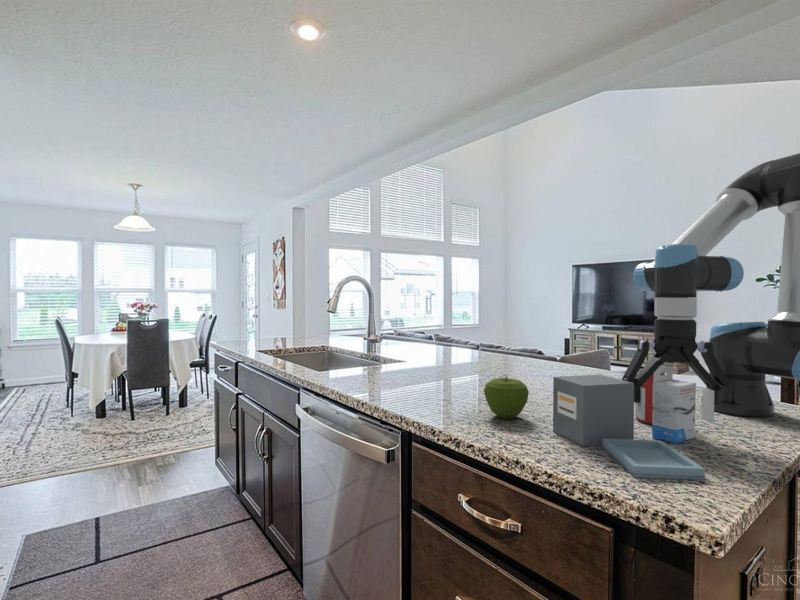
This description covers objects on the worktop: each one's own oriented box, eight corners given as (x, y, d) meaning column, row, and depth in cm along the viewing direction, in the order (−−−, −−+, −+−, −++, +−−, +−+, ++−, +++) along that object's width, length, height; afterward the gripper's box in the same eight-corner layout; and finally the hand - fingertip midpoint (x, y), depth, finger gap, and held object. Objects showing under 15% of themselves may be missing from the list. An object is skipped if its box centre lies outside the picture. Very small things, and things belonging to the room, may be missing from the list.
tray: (660, 449, 84) (660, 440, 84) (704, 480, 70) (704, 468, 70) (601, 447, 85) (601, 438, 85) (633, 477, 71) (633, 466, 71)
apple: (480, 411, 112) (481, 372, 112) (521, 411, 111) (522, 373, 111) (488, 423, 101) (488, 380, 101) (533, 423, 101) (533, 381, 101)
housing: (600, 427, 98) (600, 374, 98) (634, 441, 88) (635, 383, 88) (551, 431, 95) (552, 376, 95) (581, 446, 85) (582, 385, 85)
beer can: (663, 419, 105) (663, 369, 105) (670, 426, 99) (671, 374, 99) (633, 416, 107) (633, 368, 107) (638, 423, 101) (638, 372, 101)
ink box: (677, 444, 87) (677, 371, 87) (651, 438, 91) (651, 368, 91) (696, 437, 91) (697, 368, 91) (671, 431, 96) (671, 364, 95)
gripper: (726, 318, 94) (725, 416, 94) (606, 316, 96) (605, 412, 96) (751, 320, 86) (749, 426, 86) (620, 318, 88) (619, 422, 89)
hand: (673, 419), depth 91 cm, fingers open, 13 cm apart
